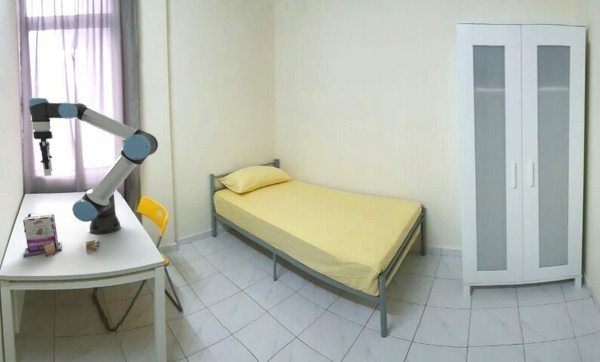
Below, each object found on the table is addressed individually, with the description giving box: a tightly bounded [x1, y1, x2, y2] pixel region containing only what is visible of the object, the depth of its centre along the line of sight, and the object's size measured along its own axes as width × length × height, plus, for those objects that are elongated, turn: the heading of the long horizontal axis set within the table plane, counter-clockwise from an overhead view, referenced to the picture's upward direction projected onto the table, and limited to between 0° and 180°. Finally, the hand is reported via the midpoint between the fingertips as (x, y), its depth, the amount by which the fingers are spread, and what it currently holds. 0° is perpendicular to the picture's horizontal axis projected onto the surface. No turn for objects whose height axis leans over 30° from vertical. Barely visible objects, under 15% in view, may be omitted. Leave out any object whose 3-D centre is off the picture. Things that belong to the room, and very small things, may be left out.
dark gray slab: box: [95, 240, 100, 248], centre depth 170 cm, size 4×6×1 cm, turn 28°
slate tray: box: [23, 241, 63, 258], centre depth 162 cm, size 14×8×2 cm, turn 123°
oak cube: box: [85, 240, 97, 253], centre depth 163 cm, size 4×4×4 cm
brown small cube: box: [44, 243, 57, 257], centre depth 157 cm, size 4×4×5 cm
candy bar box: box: [22, 214, 59, 253], centre depth 160 cm, size 11×5×16 cm, turn 115°
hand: (48, 173), depth 170 cm, fingers open, 13 cm apart
